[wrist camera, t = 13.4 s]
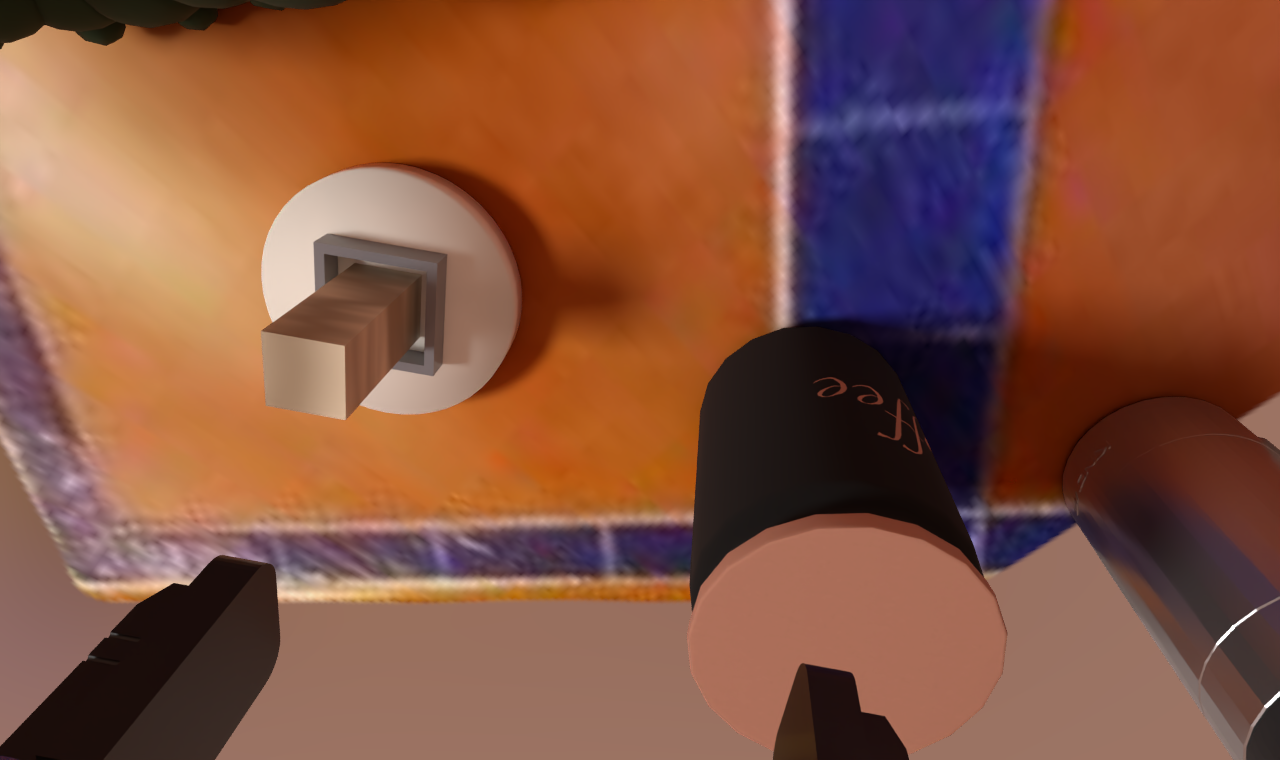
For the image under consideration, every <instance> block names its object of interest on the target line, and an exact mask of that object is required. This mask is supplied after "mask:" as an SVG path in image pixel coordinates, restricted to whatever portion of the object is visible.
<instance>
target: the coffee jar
mask: <svg viewBox="0 0 1280 760" xmlns="http://www.w3.org/2000/svg"><path fill="white" fill-rule="evenodd" d="M690 594H691V604H692V615H691V618H690V621H689V627H688V633H687V640H688V650H689V661H690V671H691V674H692V675H693V677H694V679H695V681H696V683H697V685H698V687H699V689H700V690H701V692H702V694H703V696H704V698H705V700H706V702H707V704H708V706H709V707H710V708H711V709H712V710H713V711H715V712H716V713H717V714H718V715H719V716H720V717H721V718H722V719H723V720H724V721H725V722H726V723H728V724H729V725H730V726H731V727H732V728H733V729H734V730H735V731H736V732H737V733H739V734H741V735H742V736H744V737H746V738H748V739H750V740H752V741H754V742H756V743H758V744H760V745H762V746H764V747H766V748H768V749H770V750H772V751H774V747H775V741H776V736H777V732H778V729H779V726H780V723H781V719H782V716H783V713H784V710H785V707H786V704H787V701H788V697H789V694H790V691H791V688H792V685H793V682H794V679H795V675H796V672H797V670H798V668H799V666H800V664H802V663H804V664H810V665H815V666H821V667H826V668H832V669H837V670H843V671H848V672H851V673H852V674H853V675H854V678H855V681H856V686H857V691H858V697H859V702H860V707H861V712H865V713H871V714H876V715H882V716H885V717H886V718H887V720H888V721H889V723H890V724H891V726H892V728H893V729H894V731H895V732H896V734H897V735H898V737H899V738H900V740H901V741H902V743H903V744H904V746H905V747H906V749H907V753H908V754H911V753H913V752H915V751H918V750H920V749H922V748H924V747H926V746H928V745H931V744H933V743H935V742H937V741H939V740H941V739H943V738H945V737H948V736H950V735H951V734H952V733H954V732H955V731H956V730H957V729H958V728H960V727H961V726H962V725H963V724H964V723H965V722H966V721H968V720H969V719H970V718H971V717H972V716H973V715H975V714H976V713H977V712H978V711H979V710H980V709H982V707H983V706H984V704H985V702H986V701H987V699H988V697H989V696H990V694H991V692H992V690H993V689H994V687H995V685H996V684H997V682H998V680H999V679H1000V677H1001V675H1002V673H1003V666H1004V657H1005V649H1006V641H1007V630H1006V627H1005V624H1004V621H1003V618H1002V614H1001V611H1000V608H999V605H998V602H997V599H996V596H995V594H994V592H993V590H992V589H991V587H990V585H989V584H988V582H987V581H986V579H985V578H984V576H983V573H982V570H981V567H980V564H979V561H978V558H977V555H976V552H975V548H974V545H973V543H972V541H971V538H970V536H969V534H968V532H967V529H966V527H965V525H964V523H963V520H962V518H961V516H960V514H959V512H958V509H957V507H956V505H955V503H954V500H953V498H952V496H951V494H950V491H949V489H948V487H947V485H946V483H945V480H944V478H943V476H942V474H941V471H940V469H939V467H938V465H937V462H936V460H935V458H934V456H933V453H932V451H931V449H930V447H929V445H928V442H927V440H926V438H925V436H924V433H923V431H922V429H921V427H920V424H919V422H918V420H917V418H916V416H915V413H914V411H913V409H912V407H911V404H910V402H909V400H908V398H907V395H906V393H905V391H904V389H903V386H902V384H901V382H900V380H899V378H898V375H897V374H896V373H895V371H894V370H893V369H892V368H891V366H890V365H889V364H888V363H887V362H886V360H885V359H884V358H883V357H882V356H881V354H880V353H879V352H878V351H877V350H875V349H874V348H872V347H870V346H869V345H867V344H865V343H864V342H862V341H860V340H859V339H857V338H855V337H854V336H852V335H851V334H847V333H843V332H838V331H834V330H830V329H826V328H822V327H817V326H816V327H798V328H783V329H780V330H777V331H774V332H772V333H769V334H766V335H763V336H760V337H758V338H755V339H752V340H751V341H749V342H748V343H747V344H745V345H744V346H743V347H741V348H740V349H738V350H737V351H736V352H734V353H733V354H732V355H730V356H729V357H728V358H726V359H725V361H724V362H723V364H722V365H721V366H720V368H719V369H718V371H717V372H716V373H715V375H714V376H713V378H712V379H711V380H710V382H709V383H708V386H707V390H706V393H705V397H704V400H703V404H702V407H701V411H700V425H699V441H698V457H697V473H696V490H695V506H694V522H693V538H692V554H691V570H690Z"/></svg>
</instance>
